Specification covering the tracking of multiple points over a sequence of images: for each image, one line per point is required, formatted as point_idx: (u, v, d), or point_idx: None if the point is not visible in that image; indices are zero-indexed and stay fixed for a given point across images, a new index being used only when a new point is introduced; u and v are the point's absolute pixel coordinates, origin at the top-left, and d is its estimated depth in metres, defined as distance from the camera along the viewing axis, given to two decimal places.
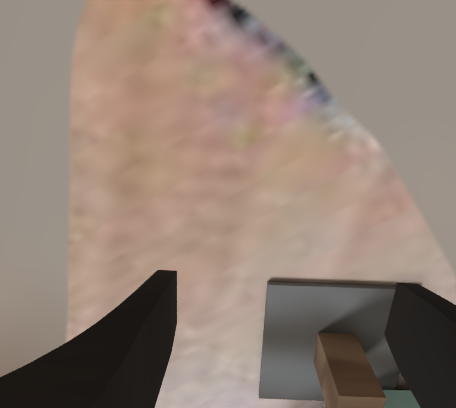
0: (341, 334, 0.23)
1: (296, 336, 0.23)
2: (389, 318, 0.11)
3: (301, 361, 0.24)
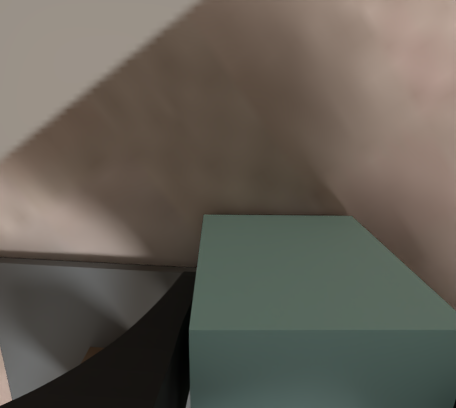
0: None
1: None
2: None
3: None
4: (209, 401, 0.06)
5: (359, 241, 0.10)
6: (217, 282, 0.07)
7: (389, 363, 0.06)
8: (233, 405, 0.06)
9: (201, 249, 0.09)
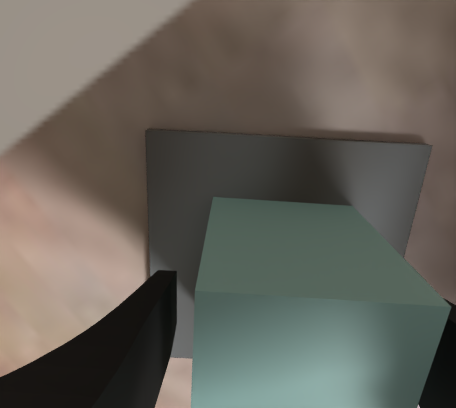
0: None
1: None
2: None
3: None
4: (209, 356, 0.07)
5: (356, 228, 0.10)
6: (222, 254, 0.08)
7: (370, 332, 0.07)
8: (230, 361, 0.07)
9: (209, 226, 0.10)
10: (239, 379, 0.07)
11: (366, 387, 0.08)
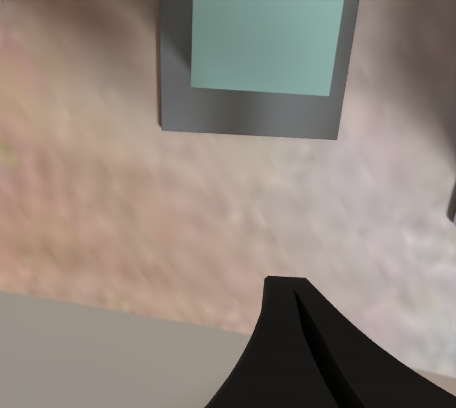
0: None
1: (235, 92, 0.18)
2: None
3: None
4: None
5: None
6: None
7: None
8: None
9: None
10: None
11: (306, 4, 0.12)
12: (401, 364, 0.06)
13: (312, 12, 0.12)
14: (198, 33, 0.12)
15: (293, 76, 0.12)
